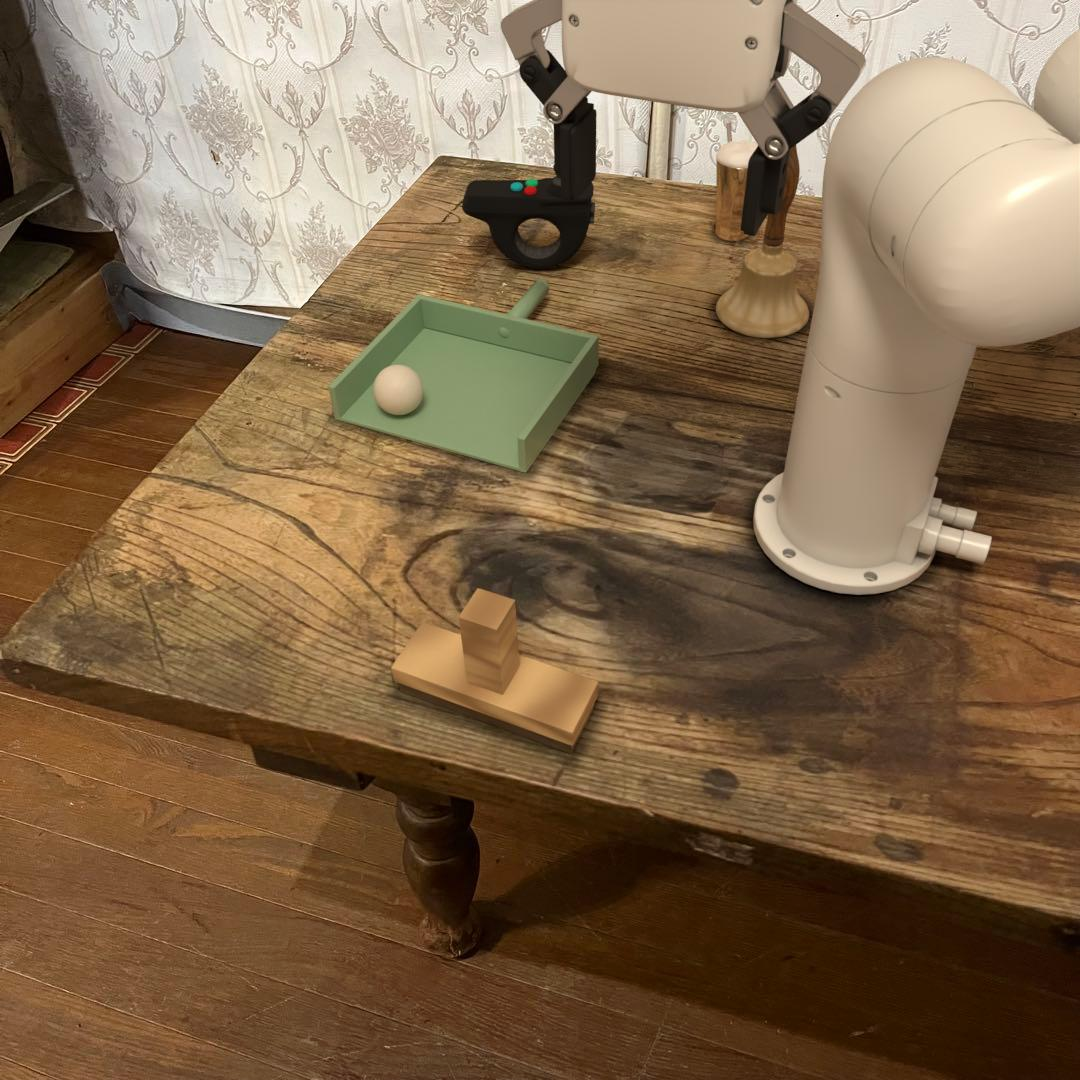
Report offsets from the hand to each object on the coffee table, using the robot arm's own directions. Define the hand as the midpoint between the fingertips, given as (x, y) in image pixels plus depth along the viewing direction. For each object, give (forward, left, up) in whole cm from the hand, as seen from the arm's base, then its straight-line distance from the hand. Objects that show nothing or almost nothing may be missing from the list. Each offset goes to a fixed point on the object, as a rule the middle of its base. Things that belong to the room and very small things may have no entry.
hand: (664, 205), depth 53 cm
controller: (+24, -33, -26) cm, 49 cm away
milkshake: (+8, -46, -26) cm, 54 cm away
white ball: (+24, -8, -24) cm, 35 cm away
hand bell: (+1, -33, -26) cm, 42 cm away
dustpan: (+20, -16, -26) cm, 37 cm away
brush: (+4, +15, -26) cm, 31 cm away
